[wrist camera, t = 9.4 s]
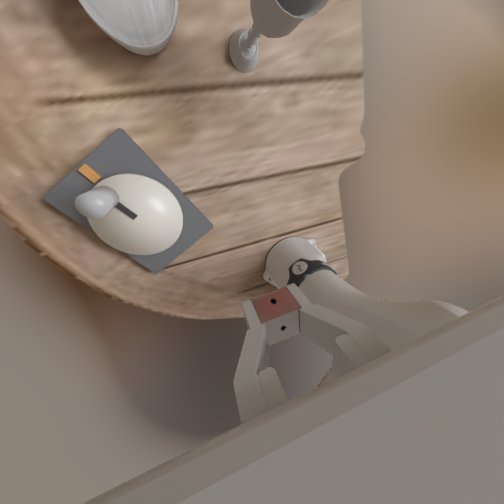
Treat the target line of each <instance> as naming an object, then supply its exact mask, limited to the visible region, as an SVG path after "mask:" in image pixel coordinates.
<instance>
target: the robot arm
mask: <svg viewBox="0 0 504 504" xmlns="http://www.w3.org/2000/svg"><path fill="white" fill-rule="evenodd" d="M263 279H264V280H265V281H267V282H269V283H270V284H272V285H273V286H275V287H277V288H278V289H276V290H274V291H271V292H269V293H266V294H263V295H261V296H258V297H255V298H252V299H249V300H246V301H243V302H241V306H242V309H243V313H244V316H245V320H246V323H247V326H248V329H249V330H247V333H246V337H245V341H244V344H243V348H242V352H241V355H240V359H239V363H238V367H237V370H236V374H235V377H234V381H233V383H234V388H235V393H236V398H237V403H238V408H239V413H240V417H241V423H242V425H240V426H238V427H236V428H234V429H232V430H230V431H228V432H226V433H224V434H222V435H220V436H218V437H216V438H214V439H212V440H210V441H207V442H206V443H203V444H201V445H199V446H198V447H196V448H193V449H191V450H189V451H187V452H185V453H183V454H181V455H179V456H177V457H175V458H174V459H171V460H169V461H167V462H165V463H163V464H161V465H159V466H157V467H155V468H153V469H151V470H149V471H147V472H145V473H143V474H141V475H139V476H137V477H135V478H133V479H131V480H129V481H127V482H125V483H123V484H121V485H118V486H116V487H114V488H113V489H111V490H108V491H106V492H104V493H102V494H100V495H98V496H96V497H94V498H93V499H90V500H88V501H86V502H84V503H82V504H504V295H503V296H501V297H499V298H497V299H495V300H493V301H491V302H489V303H487V304H485V305H483V306H481V307H479V308H477V309H475V310H473V311H471V312H467V311H466V310H464V309H462V308H460V307H457V306H455V305H452V304H448V303H445V302H440V301H434V300H419V301H405V302H404V301H403V302H401V301H389V300H382V299H378V298H374V297H371V296H368V295H366V294H364V293H361V292H360V291H358V290H356V289H355V288H353V287H352V286H350V285H349V284H348V283H346V282H345V281H344V280H342V279H341V278H340V277H338V276H337V274H336V272H335V271H334V270H333V269H332V268H331V267H330V266H329V265H328V264H327V263H326V259H325V255H324V254H323V253H322V252H321V251H319V250H318V249H317V245H316V241H315V240H314V239H313V238H306V239H303V238H299V237H290V238H286V239H284V240H282V241H280V242H279V243H277V244H276V245H275V246H274V247H273V248H272V249H271V251H270V252H269V254H268V256H267V259H266V269H265V271H264V274H263ZM299 333H300V334H301V335H302V336H304V337H306V338H307V339H309V340H310V341H312V342H314V343H315V344H316V345H318V346H320V347H321V348H323V349H324V350H326V351H327V352H329V353H330V354H332V355H333V361H332V367H331V368H330V369H329V371H328V372H327V373H326V375H325V376H324V377H323V379H322V380H321V382H320V383H319V385H318V387H317V388H315V389H313V390H311V391H309V392H307V393H305V394H303V395H301V396H299V397H296V398H295V399H293V400H290V401H287V398H286V396H285V393H284V391H283V389H282V386H281V384H280V381H279V379H278V377H277V374H276V372H275V369H273V368H271V367H269V368H267V367H268V358H269V349H270V346H271V345H273V344H275V343H277V342H279V341H282V340H284V339H286V338H289V337H291V336H294V335H297V334H299Z"/></svg>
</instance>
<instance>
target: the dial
mask: <svg viewBox="0 0 504 504" xmlns="http://www.w3.org/2000/svg"><path fill="white" fill-rule="evenodd" d="M75 207H76V209H77V210H78V212H79V213H81V214H82V215H83V216H85V217H87V218H88V221H89V224H90V226H91V227H92V229H93V231H94V232H95V233H96V234H97V236H98V237H99V238H100V239H102V240H103V241H104V242H105V243H107V244H108V245H110V246H111V247H113V248H115V249H117V250H119V251H122V252H125V253H129V254H134V255H151V254H156V253H159V252H162V251H164V250H166V249H168V248H169V247H171V246H172V245H173V244H174V243H175V242H176V241H177V239H178V238H179V236H180V234H181V231H182V227H183V213H182V209H181V206H180V203H179V201H178V200H177V198H176V196H175V195H174V194H173V193H172V191H170V190H169V189H168V188H167V187H166V186H165V185H164V184H162V183H161V182H159V181H157V180H155V179H153V178H151V177H148V176H146V175H141V174H136V173H123V174H117V175H114V176H111V177H109V178H106V179H104V180H102V181H101V182H99V183H98V184H97V185H96V186H95V187H94V188H93V189H92V190H90V191H87V192H85V193H83V194H81V195H79V196H77V198H76V199H75Z"/></svg>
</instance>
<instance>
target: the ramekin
mask: <svg viewBox="0 0 504 504" xmlns="http://www.w3.org/2000/svg"><path fill="white" fill-rule="evenodd" d="M78 1H79V3H80V4H81V6H82V7H83V9H84V10H85V11H86V13H87V14H88V15H89V17H90V18H91V19H92V20H93V22H94V23H95V24H96V25H97V26H98V27H99V28H100V29H101V30H102V31H103V32H104V33H105V34H106V35H108V36H109V37H110V38H111V39H113V40H114V41H116V42H117V43H119V44H120V45H121V46H123V47H124V48H126V49H127V50H129V51H131V52H133V53H136V54H139V55H148V56H149V55H154V54H156V53H158V52H160V51H161V50H162V49H164V47H165V46H166V45H167V43H168V41H169V40H170V39H171V37H172V35H173V33H174V31H175V28H176V24H177V19H178V0H78Z"/></svg>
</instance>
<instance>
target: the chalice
mask: <svg viewBox="0 0 504 504" xmlns="http://www.w3.org/2000/svg"><path fill="white" fill-rule="evenodd" d="M327 1H328V0H251V13H252V18H253V21H254V23H253V25H252V28H250V29H249V30H248V29H239V30H236V31H235V32H234V33H233V35H232V37H231V39H230V43H229V54H230V57H231V61H232V62H233V64H234V66H235V67H236V68H237V69H238V70H239V71H241V72H250V71H252V70H253V69H254V68H255V66H256V64H257V62H258V57H259V48H258V42H259V38H261V37H262V35H264V36H266V37H268V38H279V37H283V36H286V35H288V34H290V33H291V32H292V31H293V30H294V29H295V28H296V27H297V26H298V25H299V24H300V23H301V21H302V20H303V19H306V18H308V17H311V16H313V15H316V14H317V13H318V12H319V11H320V10H321V9H322V8H323V7H324V6H325V5H326V3H327Z"/></svg>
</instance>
